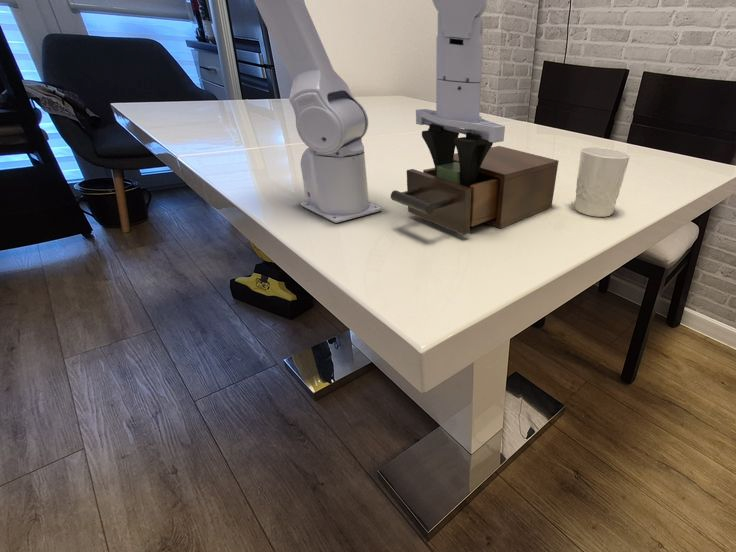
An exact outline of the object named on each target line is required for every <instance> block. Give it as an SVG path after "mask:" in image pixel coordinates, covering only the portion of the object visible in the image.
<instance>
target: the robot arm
mask: <svg viewBox="0 0 736 552" xmlns="http://www.w3.org/2000/svg"><path fill="white" fill-rule="evenodd" d="M253 1H254V4H255V6H256V8H257V10H258V12H259V14H260V16H261V19H262V20H263V22H264V25H265V26H266V29H267V31H268V33H269V35H270V37H271V39H272V41H273V43H274V46H275V47H276V49H277V52H278V54H279V56H280V58H281V60H282V62H283V64H284V66H285V69H286V70H287V72H288V74H289V77H290V79H291V81H292V84H291V89H290V93H289V98H288V100H289V103H290V105H291V107H292V109H293V112H294V116H295V117H294V118H295V127H296V131H297V134H298V137H299V138H300V139H301V141H302V142H303V144H304V145H305V146H307V148H306V149H305V150H304V151H303V152H302V155H301V158H300V172H301V176H302V182H303V183H302V184H303V190H304V195H305V201H302V202H300V205H301V206H302V207H303V208H305V209H307V210H309V211H311V212H313V213H315V214H317V215H319V216H321V217H323V218H325V219H327V220H328V221H331V222H333V223H342V222H345V221H348V220H352V219H356V218H359V217H364V216H367V215H370V214H374V213H378V212H381V211H382V207H381V206H379V205H376V204H375V203H372V202H369V189H368V177H367V165H366V164H367V163H366V154H365V152H366V151H365V146H364V143H363V140H362V138H364V136H366V133H367V131H368V129H369V117H368V114H367V112H366V109H365V107H364V106H363V105H362V104H361V103H360V102H359V101H358V99H356V97H354V95H353V94H352V92H351V90H350V87H349V85H348V83H347V82H346V81H345V80H344V79H343V78H342V77H341V76H340V74H338V73H337V72H336V70H334V67H333V65H332V63H331V61H330V58H329V56H328V53H327V52H326V51H327V50H326V49H325V46H324V44H323V42H322V40H321V37H320V35H319V33H318V30H317V28H316V26H315V23H314V21H313V19H312V17H311V14H310V12H309V10H308V7H307V5H306V3H305V0H253ZM432 3H433V6H434V8H435V9H436V11H437V35H436V38H435V39H436V42H435V43H436V46H435V47H436V55H435V57H436V58H435V59H436V62H435V63H436V66H435V67H436V71H435V72H436V74H435V75H436V76H435V77H436V80H435V81H436V82H435V83H436V85H435V86H436V88H435V89H436V90H435V91H436V92H435V94H436V95H435V96H436V97H435V98H436V99H435V102H436V106H435V109H434V110H433V109H429V108H420V109H419V108H418V109H415V124H416V125H420V126H428V128H427V129H426V130H422V131H421V137H422V139H423V141H424V143H425V144H426V146H427V148H428V151H429V153H430V155H431V159H432V162H433V166H434V168H435V170H436V174H437V166H439V165H444V164H449V163H453V158H454V154H455V151H456V152H457V153H458V157H459V164H460V185H463V186H466V187H469V188H470V185H473V184H475V182H476V178H477V175H478V172H479V169H480V167H481V164H482V162H483V160H484V158H485V156H486V154H487V153H488V151H489V149H490V148H491V147H493V145H494V144H497V143H501V142H504V141H505V133H506V132H505V130H506V125H504V124H499V123H496V122H493V121H490V120H487V119H485V118H483V117H482V116H481V115H480V112H481V94H482V76H483V75H482V73H483V58H484V57H483V56H484V55H483V54H484V41H483V34H484V21H483V19H484V18H483V17H482V15H483V14H484V12H485V11H486V8H487V4H488V0H432ZM461 134H462V135H464V136H462V137H459V136H460V135H461Z"/></svg>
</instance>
